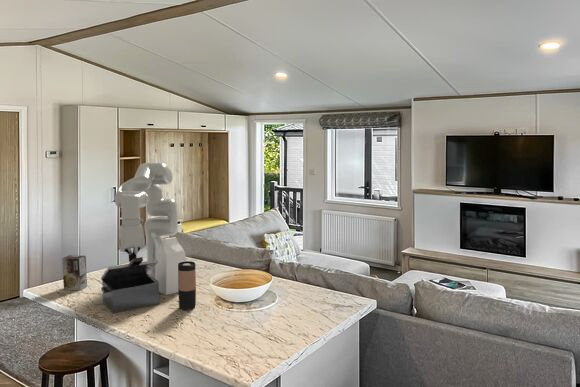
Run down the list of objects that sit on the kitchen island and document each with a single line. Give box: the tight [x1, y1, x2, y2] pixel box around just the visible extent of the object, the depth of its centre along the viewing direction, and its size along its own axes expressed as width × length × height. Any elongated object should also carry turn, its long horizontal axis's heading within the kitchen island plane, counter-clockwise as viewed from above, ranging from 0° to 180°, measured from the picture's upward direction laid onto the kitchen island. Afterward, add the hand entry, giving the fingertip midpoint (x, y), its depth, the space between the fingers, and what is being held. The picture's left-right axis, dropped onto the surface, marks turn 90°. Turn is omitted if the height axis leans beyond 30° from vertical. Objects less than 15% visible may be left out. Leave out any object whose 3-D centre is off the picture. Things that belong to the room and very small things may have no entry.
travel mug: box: [177, 260, 197, 311], centre depth 198 cm, size 8×8×20 cm
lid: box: [100, 256, 158, 281], centre depth 201 cm, size 21×25×2 cm
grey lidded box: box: [100, 273, 160, 314], centre depth 204 cm, size 24×18×10 cm
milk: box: [154, 236, 187, 296], centre depth 222 cm, size 12×12×26 cm
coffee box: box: [61, 254, 88, 291], centre depth 223 cm, size 9×6×16 cm
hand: (132, 262), depth 198 cm, fingers closed
